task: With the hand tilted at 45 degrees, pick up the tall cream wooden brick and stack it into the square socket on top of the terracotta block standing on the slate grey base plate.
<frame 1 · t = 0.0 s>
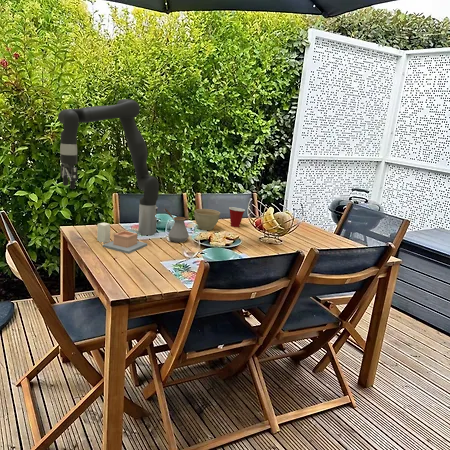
hand: (69, 187, 197), 29 cm above the table, tool pointing down, fingers open, 8 cm apart
plastic cup: (235, 226, 268), on the table
tall brick: (103, 241, 214), on the table
coffee pot: (173, 238, 231), on the table
tower base: (125, 246, 210), on the table
planter bowl: (205, 228, 256), on the table
coffee mug: (151, 222, 258), on the table
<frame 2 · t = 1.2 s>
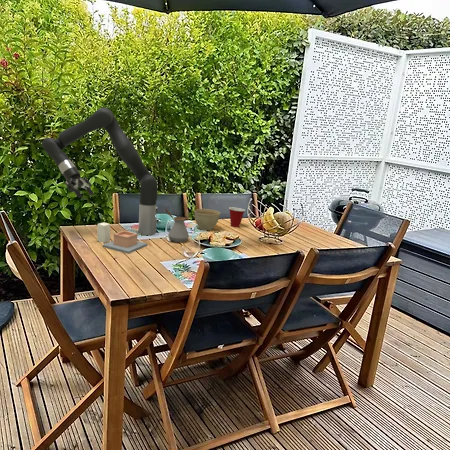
hand: (86, 195, 212), 23 cm above the table, tool tilted 45°, fingers open, 8 cm apart
nothing on the table moved.
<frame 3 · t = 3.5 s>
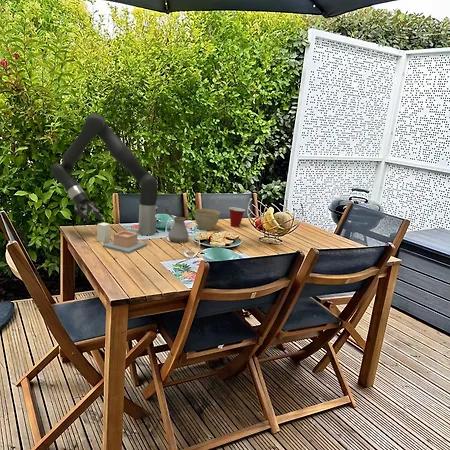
hand: (95, 220, 214), 10 cm above the table, tool tilted 45°, fingers open, 8 cm apart
nothing on the table moved.
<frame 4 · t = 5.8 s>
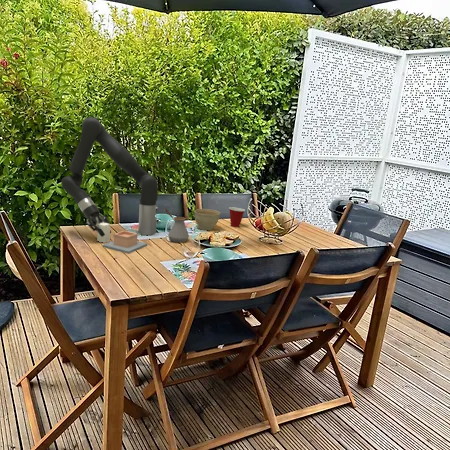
hand: (106, 234, 212), 4 cm above the table, tool tilted 45°, fingers closed on tall brick, 4 cm apart
tall brick: (103, 241, 214), on the table, touching gripper
everything else where it was.
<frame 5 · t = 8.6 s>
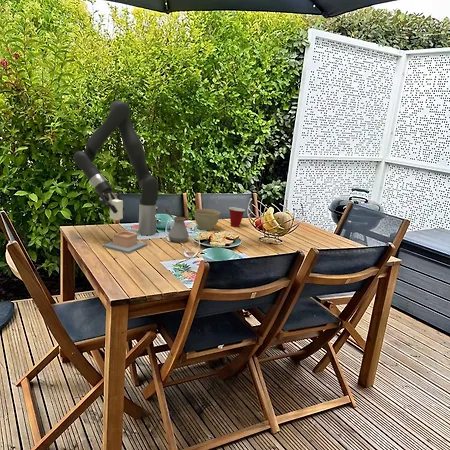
hand: (119, 211, 207), 18 cm above the table, tool tilted 45°, fingers closed on tall brick, 4 cm apart
tall brick: (116, 218, 208), point 14 cm above the table, touching gripper
everything else where it was.
when the fingers open (10 cm above the table, at t = 11.3 s): tall brick drops 1 cm, resting on tower base.
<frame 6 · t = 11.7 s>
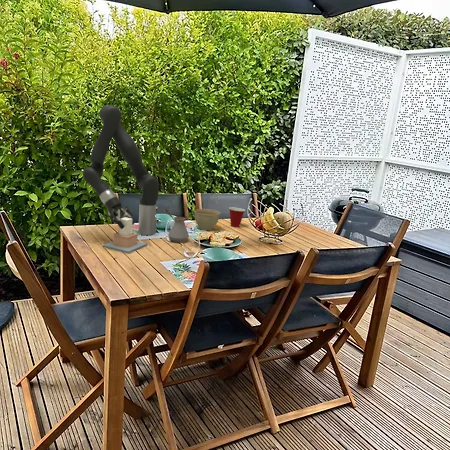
hand: (128, 226, 206), 11 cm above the table, tool tilted 45°, fingers open, 8 cm apart
tall brick: (125, 236, 208), point 5 cm above the table, touching tower base
everything else where it was.
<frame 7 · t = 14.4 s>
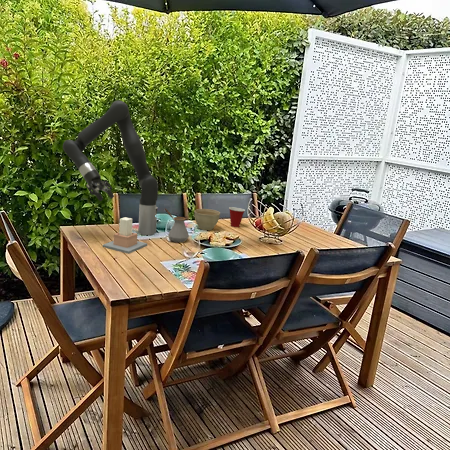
hand: (107, 198, 208), 23 cm above the table, tool tilted 45°, fingers open, 8 cm apart
nothing on the table moved.
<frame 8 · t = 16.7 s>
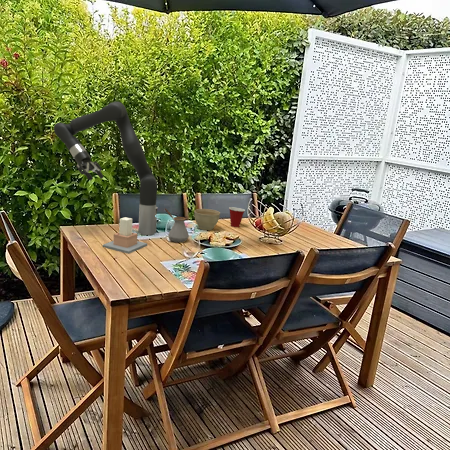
hand: (97, 178, 217), 31 cm above the table, tool tilted 45°, fingers open, 8 cm apart
nothing on the table moved.
at the end: tall brick 0.1 cm off-centre on the tower base, point 5.2 cm above the tower base's base; tall brick tilted 0°; the gripper is holding nothing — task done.
